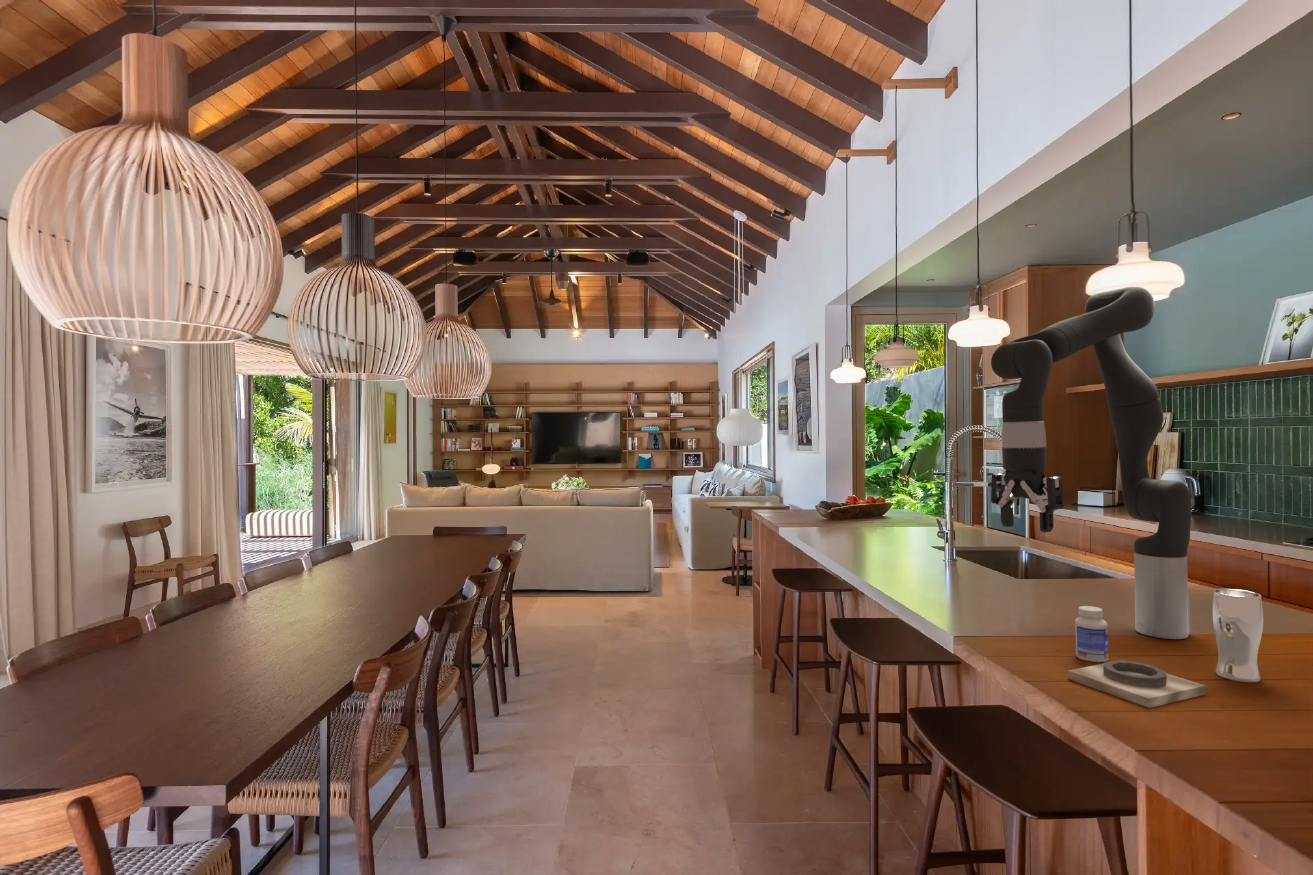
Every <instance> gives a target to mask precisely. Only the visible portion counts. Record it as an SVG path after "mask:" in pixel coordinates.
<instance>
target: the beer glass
mask: <svg viewBox="0 0 1313 875" xmlns="http://www.w3.org/2000/svg"><path fill="white" fill-rule="evenodd" d="M1211 604H1212V606H1211V619H1212V626H1213V632H1214V636H1215V640H1216V645H1217V650H1218V659H1217V664H1216V669H1215V673H1216V675H1218V676H1219V677H1221V678H1224V679H1228V680H1231V681H1236V682H1243V683H1258V682H1260V681H1261V675H1260V671H1259V666H1258V654H1259V648H1260V645H1261V641H1262V640H1261V639H1262V635H1263V630H1264V628H1263V627H1264V609H1263V603H1262V595H1261V594H1260V593H1257V592H1254V591H1249V590H1246V589H1237V588H1236V589H1235V588H1215V589H1213V590H1212V602H1211Z"/></svg>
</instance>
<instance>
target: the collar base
mask: <svg viewBox="0 0 1313 875" xmlns="http://www.w3.org/2000/svg"><path fill="white" fill-rule="evenodd" d="M1067 672H1068V673H1067V676H1068V678H1067V679H1068V680H1070V681H1074V682H1077V683H1079V684H1081V685H1085V686H1087V687H1090V688H1093V689H1095V690H1097V691H1100V692H1104V693H1106V694H1109V695H1112V696H1114V697H1117V698H1119V699H1122V700H1123V699H1124V700H1126V701H1129V702H1130V703H1131V702H1132V703H1133V704H1137V705H1140V706H1143V707H1145V708H1149V709H1151V708H1154V707H1158V706H1163V705H1167V704H1170V703H1171V704H1172V703H1176V702H1179V701H1183V700H1188V699H1192V698H1196V697H1200V696H1204V695H1205V696H1206V694H1207V692H1206V690H1207V687H1206V686H1207V685H1206V684H1202V683H1199V682H1195V681H1193V680H1189V679H1185V678H1182V677H1179V676H1176V675H1173V674H1170V673H1167V672H1166V671H1165V670H1163V669H1162V668H1160V667H1159V666H1158V667H1157V666H1154V665H1151V664H1148V663H1144V662H1139V661H1138V662H1137V661H1130V660H1124V659H1118V660H1109V661H1105V662H1103V663H1099V664H1095V665H1089V666H1085V667H1080V668H1075V669H1074V668H1073V669H1068V671H1067Z"/></svg>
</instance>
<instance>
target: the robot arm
mask: <svg viewBox="0 0 1313 875" xmlns="http://www.w3.org/2000/svg"><path fill="white" fill-rule="evenodd" d="M1155 310H1156V303H1155V300H1154V297H1153V296H1152V293H1151V292H1150V291H1149V290H1148V289H1146V288H1144V287H1141V286H1126V287H1121V288H1117V289H1112V290H1107V291H1106V290H1105V291H1102V292H1097V293H1094V294H1092V295H1090V297H1089V298H1088V299H1087V301H1086V303H1085V309H1084V313H1083V314H1080V315H1076V316H1073V317H1069V318H1067V319H1066V318H1065V319H1063V320H1060V321H1058V322H1055V323H1053V324H1051V325H1049V326H1047V327H1045V328H1043V329H1041V330H1039V331H1038V332H1035V333H1032V334H1030V335H1027V336H1022V337H1020V338H1017V339H1014V340H1010V341H1008V342H1005V343H1003V344H1001V345H1000V346H998V347H997V348H995V349H996V350H995V351H994V353H993V354H992V356H991V359H990V365H991V366H990V367H991V370H992V371H993V373H994V374H995V375H996V376H998V377H999V378H1001V379H1005V380H1017V379H1020V382H1019V385H1018V387H1017V389H1015V390H1012V391H1009V392H1006V393H1005V394H1004V395H1003V397H1002V402H1001V403H1002V405H1001V406H1002V408H1001V409H1002V412H1001V413H1002V428H1001V454H1002V456H1001V457H1002V458H1001V459H1002V469H1003V470H1005V473H993V474H991V476H990V477H991V478H990V480H991V482H990V483H991V484H990V486H991V487H990V493H991V494H990V503H992V504H996V505H997V506H998V507H999V508H1000V522H1001V524H1002V526H1003V527H1005V528H1010V527H1014V507H1013V505H1014V503H1015V502H1016V501H1017V500H1018V499H1019V498H1024V499H1030V500H1031V502H1032V503H1034V504H1035V505H1036V506H1037V508H1038V510H1039V511H1040V512H1039V531H1040V532H1041V533H1050V532H1052V531H1053V529H1054V513H1055V512H1056V511H1058V510H1062V509H1064V495H1063V494H1064V491H1063V485H1062V484H1063V483H1062V482H1063V481H1062V478H1061V476H1050V477H1047V476H1046V473H1045V470H1046V469H1047V468H1048V467H1047V466H1048V464H1047V463H1048V462H1047V460H1048V459H1047V457H1048V456H1047V434H1046V432H1047V431H1046V427H1045V415H1044V414H1045V413H1044V400H1045V399H1044V398H1045V394H1046V392H1047V387H1048V384H1049V380H1050V376H1051V372H1052V368H1053V364H1055V363H1058V362H1060V361H1062V360H1065V359H1066V358H1069V357H1071V356H1072V355H1075V354H1077V353H1078V352H1080V351H1082V350H1084V349H1086V348H1088V347H1091V346H1093V349H1094V352H1095V355H1096V358H1097V360H1098V364H1099V368H1100V373H1101V375H1102V376H1101V377H1102V380H1103V385H1104V390H1105V396H1106V401H1107V406H1108V412H1109V418H1110V422H1111V424H1112V425H1111V426H1112V428H1113V432H1114V437H1115V443H1116V448H1117V453H1118V460H1119V468H1120V470H1119V471H1120V480H1121V489H1122V490H1121V491H1122V498H1123V503H1124V508H1125V510H1126V512H1127V514H1128V515H1129V516H1130V517H1131V518H1132V519H1135V520H1137V521H1144V522H1151V523H1158V526H1157V531H1156V532H1155V533H1154V534H1153V533H1152V535H1148V536H1142V537H1138V538H1136V539H1135V540H1134V543H1133V548H1134V549H1133V555H1134V556H1133V557H1134V560H1133V563H1134V622H1135V623H1134V624H1135V625H1134V627H1135V628H1134V629H1135V631H1136V632H1137V633H1140V634H1142V635H1146V636H1149V637H1153V638H1158V639H1164V640H1165V639H1168V640H1183V639H1187V638H1189V635H1191V609H1190V608H1191V604H1190V602H1191V599H1190V597H1191V596H1190V595H1191V592H1190V590H1189V588H1188V587H1189V586H1188V585H1189V584H1188V548H1189V544H1190V542H1191V541H1190V540H1191V522H1192V497H1191V496H1192V495H1191V492H1190V490H1189V488H1188V486H1187V485H1186V484H1185V483H1184V482H1182V481H1179V480H1172V479H1171V480H1170V479H1169V480H1168V479H1152V478H1151V477H1150V472H1149V468H1148V467H1149V465H1148V459H1149V458H1148V457H1149V453H1150V451H1151V448H1152V446H1153V444H1154V442H1155V441H1156V439H1157V437H1158V435H1159V433H1160V431H1161V428H1162V426H1163V422H1164V411H1163V406H1162V401H1161V397H1160V396H1161V395H1160V393H1159V390H1158V387H1157V385H1156V384H1155V383H1154V381H1153V380H1152V379H1151V378H1150V377H1149V376H1148V375H1147V373H1146V372H1144V371H1143V370H1142V369H1141V368H1140V367H1139V366H1138V364H1136V362H1134V361H1133V360H1132V359H1131V357H1130V356H1129V354H1128V352H1127V351H1126V349H1125V346H1124V342H1123V341H1122V337H1121V334H1123V333H1131V332H1135V331H1138V330H1141V329H1143V328H1145V327H1147V326H1148V325H1149V324H1150V323H1151V322H1152V320H1153V319H1154V315H1155V312H1156V311H1155Z"/></svg>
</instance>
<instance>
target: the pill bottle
mask: <svg viewBox="0 0 1313 875" xmlns="http://www.w3.org/2000/svg"><path fill="white" fill-rule="evenodd" d="M1077 611H1078V615H1079V617H1077V618H1075V620H1074V634H1075V637H1074V638H1075V655H1076V656H1075V657H1077V658H1078V659H1080V660H1082V661H1086V662H1093V663H1105V662H1108V660H1109V632H1108V626H1109V625H1108V623H1107V621H1106V620H1104V619H1102V618H1103V617H1104V613H1103V612H1104V610H1103V608H1101V607H1098V606H1097V607H1096V606H1091V605H1083V606H1082V605H1081V606H1078V610H1077Z"/></svg>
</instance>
